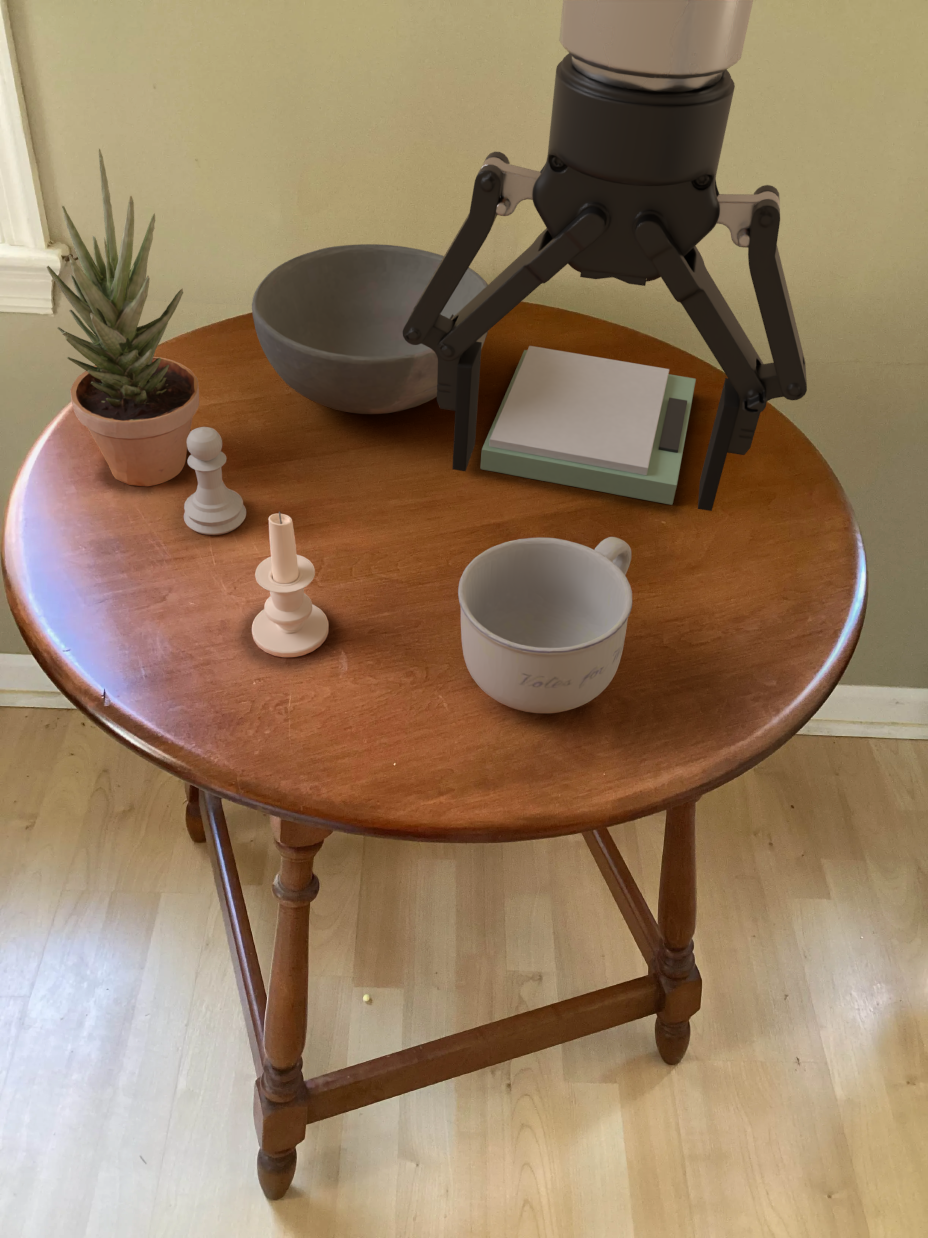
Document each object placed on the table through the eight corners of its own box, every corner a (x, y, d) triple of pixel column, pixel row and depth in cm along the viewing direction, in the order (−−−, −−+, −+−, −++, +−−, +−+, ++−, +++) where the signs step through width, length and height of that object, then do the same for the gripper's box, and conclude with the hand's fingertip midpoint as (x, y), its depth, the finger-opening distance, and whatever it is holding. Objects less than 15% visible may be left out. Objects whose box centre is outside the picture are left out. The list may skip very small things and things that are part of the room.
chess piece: (255, 527, 80) (244, 439, 74) (194, 543, 78) (179, 454, 73) (235, 493, 83) (224, 406, 77) (176, 507, 81) (161, 420, 76)
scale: (691, 397, 96) (697, 370, 94) (672, 505, 84) (678, 476, 82) (522, 368, 99) (525, 341, 97) (480, 469, 87) (482, 440, 85)
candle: (286, 595, 75) (274, 476, 67) (344, 625, 73) (338, 506, 65) (236, 636, 71) (218, 516, 64) (295, 669, 69) (284, 549, 62)
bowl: (371, 315, 105) (369, 217, 98) (530, 393, 96) (541, 290, 89) (213, 391, 93) (198, 286, 86) (377, 487, 84) (375, 378, 77)
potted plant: (220, 486, 83) (176, 172, 66) (98, 509, 81) (18, 188, 63) (195, 420, 90) (149, 119, 73) (81, 439, 87) (5, 131, 70)
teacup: (521, 763, 65) (533, 675, 59) (422, 658, 71) (424, 569, 65) (681, 672, 71) (706, 584, 65) (577, 583, 77) (592, 496, 71)
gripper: (944, 67, 45) (808, 472, 59) (380, 5, 48) (383, 406, 62) (969, 126, 39) (812, 555, 54) (332, 52, 42) (348, 479, 57)
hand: (583, 476), depth 58 cm, fingers open, 13 cm apart
